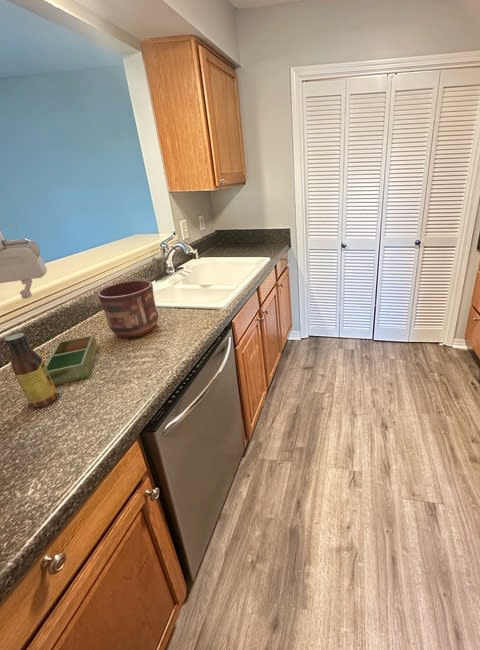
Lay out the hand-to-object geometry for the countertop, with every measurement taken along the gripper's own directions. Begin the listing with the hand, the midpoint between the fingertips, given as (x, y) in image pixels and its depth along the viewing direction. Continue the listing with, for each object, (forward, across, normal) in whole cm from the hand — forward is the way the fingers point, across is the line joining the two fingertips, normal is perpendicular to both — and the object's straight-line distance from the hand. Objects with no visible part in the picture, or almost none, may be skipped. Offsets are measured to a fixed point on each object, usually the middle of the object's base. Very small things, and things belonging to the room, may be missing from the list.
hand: (3, 300), depth 77 cm
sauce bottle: (+30, 0, 0) cm, 30 cm away
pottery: (+29, -22, -33) cm, 49 cm away
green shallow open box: (+29, -4, -17) cm, 34 cm away
